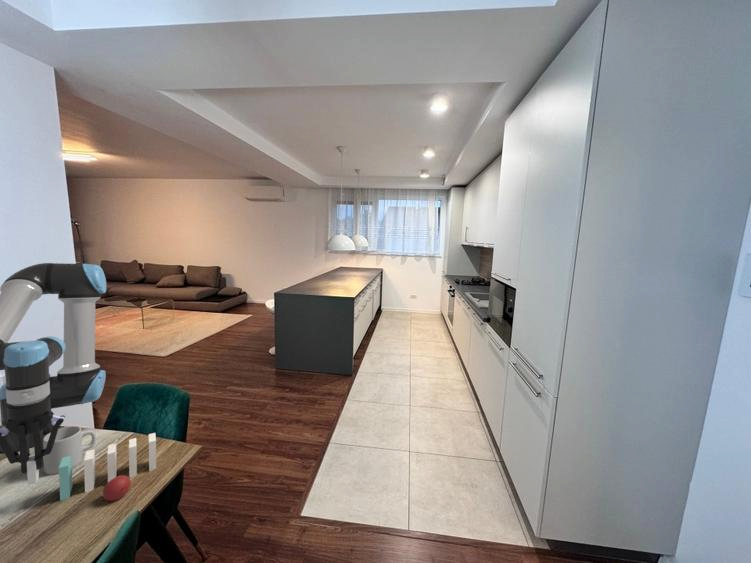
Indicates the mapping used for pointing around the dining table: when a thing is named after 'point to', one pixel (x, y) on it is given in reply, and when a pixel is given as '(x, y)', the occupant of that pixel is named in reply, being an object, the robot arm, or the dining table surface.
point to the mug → (66, 448)
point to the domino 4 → (132, 457)
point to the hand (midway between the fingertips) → (33, 480)
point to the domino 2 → (89, 470)
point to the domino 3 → (112, 462)
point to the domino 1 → (65, 477)
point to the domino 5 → (152, 451)
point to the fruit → (116, 488)
